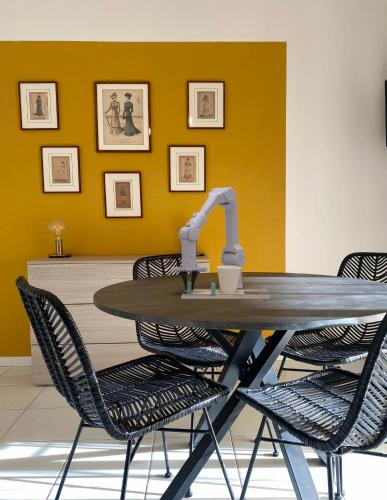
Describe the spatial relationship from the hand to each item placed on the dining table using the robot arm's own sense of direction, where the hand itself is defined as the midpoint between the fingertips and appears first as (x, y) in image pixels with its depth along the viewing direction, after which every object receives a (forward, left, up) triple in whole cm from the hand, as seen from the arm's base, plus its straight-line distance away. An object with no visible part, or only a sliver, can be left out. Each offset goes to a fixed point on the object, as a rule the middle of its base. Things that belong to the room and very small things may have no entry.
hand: (189, 290), depth 203 cm
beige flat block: (0, +11, -2) cm, 11 cm away
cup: (0, +16, -2) cm, 16 cm away
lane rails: (+2, +15, -2) cm, 15 cm away
